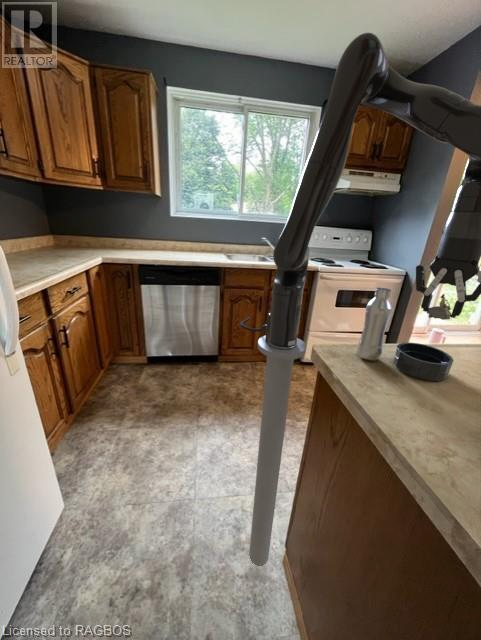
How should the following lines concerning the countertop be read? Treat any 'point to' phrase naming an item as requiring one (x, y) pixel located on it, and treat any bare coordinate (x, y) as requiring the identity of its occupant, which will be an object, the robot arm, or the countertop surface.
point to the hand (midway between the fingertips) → (438, 313)
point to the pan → (422, 361)
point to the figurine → (440, 310)
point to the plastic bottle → (375, 325)
